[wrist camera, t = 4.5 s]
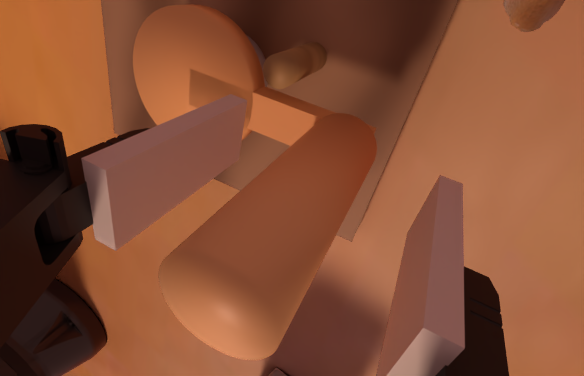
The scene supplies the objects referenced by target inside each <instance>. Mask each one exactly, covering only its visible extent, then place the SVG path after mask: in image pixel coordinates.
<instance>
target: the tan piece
mask: <svg viewBox="0 0 584 376" xmlns="http://www.w3.org/2000/svg"><path fill="white" fill-rule="evenodd" d="M133 70H134V77H135V82H136V85H137V89H138V92H139V95H140V97H141V100H142V102H143V104H144V106H145V108H146V110H147V111H148V113H149V115H150V116H151V118H152V119H153V121H154V122H155V123H156V125H160V124H162V123H164V122H167V121H169V120H171V119H174V118H176V117H178V116H181V115H183V114H185V113H188V112H190V111H192V110H195V109H197V108H199V107H202V106H204V105H206V104H209V103H211V102H213V101H216V100H218V99H220V98H223V97H225V96H227V95H230V94H232V95H235V96H237V97H240V98H242V99H245V100H247V106H246V113H245V120H244V127H243V134H242V140H243V139H245V138H246V137H247V136H248V135H249V134H250V133H251V132H252V131H255V132H258V133H260V134H262V135H265V136H267V137H270V138H272V139H275V140H277V141H280V142H282V143H284V144H287V145H289V146H290V147H289V148H288V149H287V150H286V151H285V152H284V153H282V154H281V155H280V156H279V157H278V158H277V159H276V160H275V161H273V162H272V163H271V164H270V165H269V166H268V167H267V168H266V169H264V170H263V171H262V172H261V173H260V174H259V175H258V176H257V177H255V178H254V179H253V180H252V181H251V182H250V183H249V184H248V185H246V186H245V187H244V188H243V189H242V190H241V191H240V192H239V193H237V194H236V195H235V196H234V197H233V198H232V199H231V200H230V201H228V202H227V203H226V204H225V205H224V206H223V207H222V208H221V209H219V210H218V211H217V212H216V213H215V214H214V215H213V216H212V217H211V218H209V219H208V220H207V221H206V222H205V223H204V224H203V225H202V226H200V227H199V228H198V229H197V230H196V231H195V232H194V233H193V234H191V235H190V236H189V237H188V238H187V239H186V240H185V241H184V242H182V243H181V244H180V245H179V246H178V247H177V248H176V249H175V250H173V251H172V252H171V253H170V254H169V255H168V256H167V257H166V258H165V259H164V260H163V261H162V263H161V265H160V268H159V275H158V278H159V285H160V289H161V292H162V294H163V297H164V299H165V301H166V303H167V304H168V306H169V308H170V309H171V311H172V312H173V313H174V315H175V316H176V317H177V319H178V320H179V321H180V322H181V323H182V324H183V325H184V326H185V327H186V328H187V329H188V330H189V331H190V332H191V333H192V334H193V335H195V336H196V337H197V338H198V339H200V340H201V341H203V342H204V343H205V344H207V345H209V346H210V347H212V348H214V349H216V350H217V351H219V352H222V353H224V354H226V355H229V356H231V357H235V358H238V359H244V360H260V359H265V358H267V357H269V356H271V355H272V354H273V353H274V352H275V351H276V350H277V348H278V346H279V344H280V342H281V341H282V339H283V337H284V335H285V333H286V331H287V329H288V327H289V325H290V323H291V321H292V319H293V317H294V315H295V313H296V311H297V310H298V308H299V306H300V304H301V302H302V300H303V298H304V296H305V294H306V292H307V290H308V288H309V286H310V284H311V282H312V281H313V279H314V277H315V275H316V273H317V271H318V269H319V267H320V265H321V263H322V261H323V259H324V257H325V255H326V253H327V252H328V250H329V248H330V246H331V244H332V242H333V240H334V238H335V236H336V234H337V232H338V230H339V228H340V226H341V224H342V223H343V221H344V219H345V217H346V215H347V213H348V211H349V209H350V207H351V205H352V203H353V201H354V199H355V197H356V195H357V193H358V192H359V190H360V188H361V186H362V184H363V182H364V180H365V178H366V176H367V174H368V172H369V170H370V168H371V166H372V164H373V162H374V161H375V158H376V153H377V143H376V139H375V136H374V133H375V131H376V127H373V126H370V125H368V124H366V123H365V122H364V121H362V120H361V119H359V118H358V117H356V116H353V115H350V114H346V113H335V112H333V111H330V110H327V109H324V108H322V107H319V106H316V105H314V104H311V103H308V102H306V101H303V100H300V99H298V98H295V97H292V96H290V95H287V94H284V93H281V92H279V91H276V90H273V89H271V88H268V87H265V83H264V76H263V71H262V67H261V64H260V61H259V58H258V56H257V53H256V51H255V49H254V47H253V45H252V44H251V42H250V40H249V39H248V37H247V36H246V35H245V33H244V32H243V31H242V29H241V28H240V27H239V26H238V25H237V24H236V23H235V22H234V21H233V20H231V19H230V18H229V17H228V16H226V15H225V14H223V13H221V12H220V11H218V10H216V9H213V8H211V7H208V6H204V5H195V4H189V5H171V6H166V7H163V8H160V9H158V10H156V11H155V12H153V13H152V14H151V15H150V16H148V17H147V18H146V20H145V21H144V22H143V24H142V25H141V27H140V29H139V31H138V33H137V36H136V39H135V44H134V49H133Z"/></svg>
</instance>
